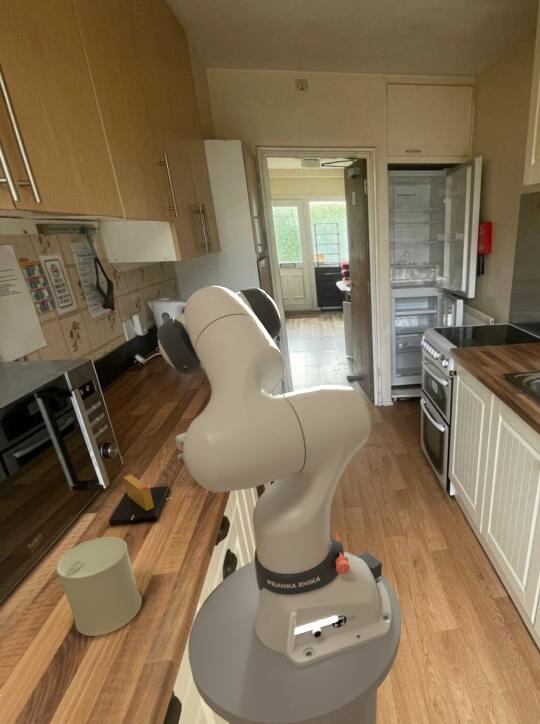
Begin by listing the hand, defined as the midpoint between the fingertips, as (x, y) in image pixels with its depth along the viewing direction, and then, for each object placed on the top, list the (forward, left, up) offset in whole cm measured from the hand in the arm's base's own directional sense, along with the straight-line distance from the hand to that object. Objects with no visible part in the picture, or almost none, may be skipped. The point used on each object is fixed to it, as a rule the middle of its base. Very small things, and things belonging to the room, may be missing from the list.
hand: (181, 460), depth 103 cm
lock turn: (+7, +10, -5) cm, 13 cm away
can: (+4, +40, -6) cm, 40 cm away
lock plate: (+7, +10, -6) cm, 14 cm away
